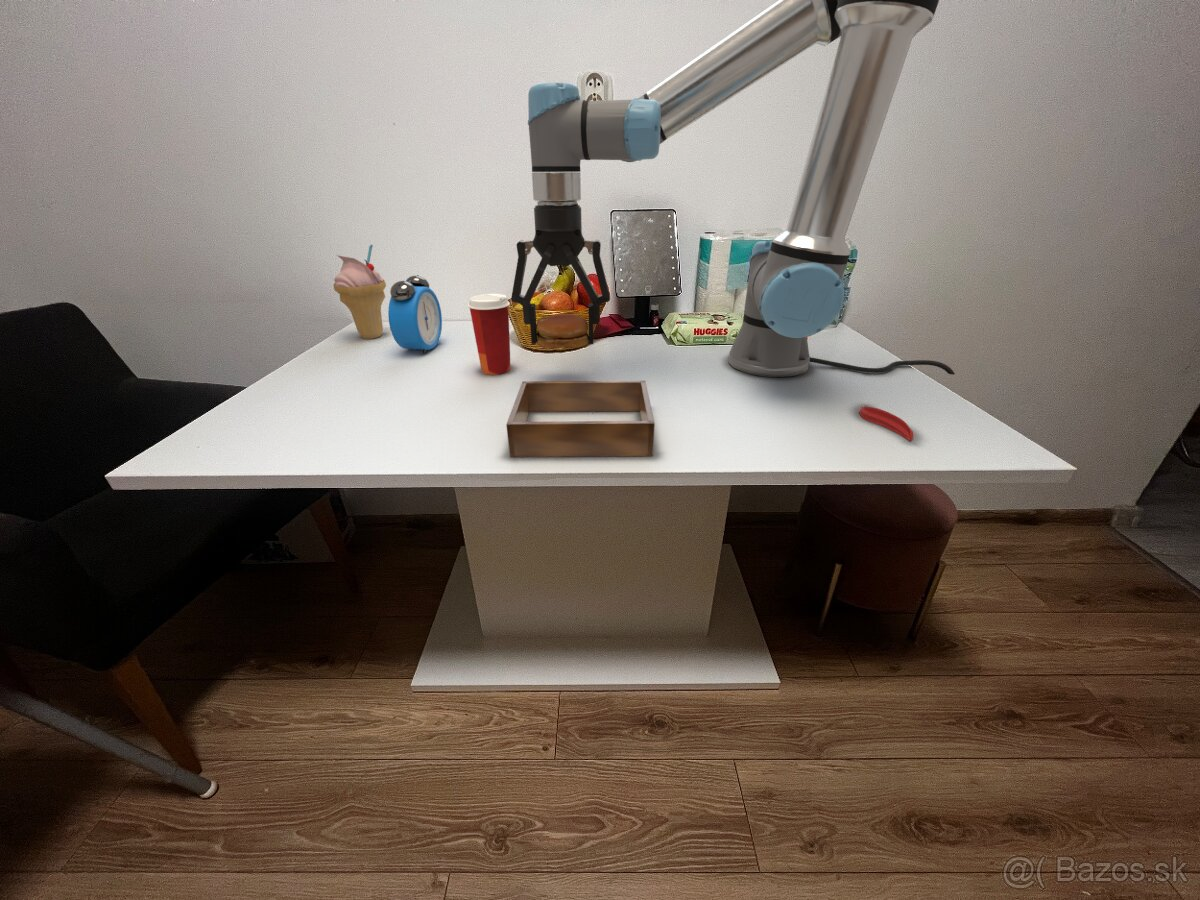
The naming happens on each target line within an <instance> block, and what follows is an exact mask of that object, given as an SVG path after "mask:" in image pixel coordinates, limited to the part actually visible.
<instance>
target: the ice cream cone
mask: <svg viewBox="0 0 1200 900" xmlns="http://www.w3.org/2000/svg"><path fill="white" fill-rule="evenodd" d="M372 251H373V244H370V245H369V246H368V251H367V257H366V259H364V261H365V263H363V262H362V261H361V260H358V259H356V258H354V257H349V256H345V255H344V256H343V255H337V254H336V256H337V257H338V258H339V259H340V260H341V261H342V265H341V268H340V271H339V273H338V274H337V275H336V276H335V277H334V283H333V290H334V291H335V292H336V293H337V294H339V301H340V302H341V303H342V304H343V305H345V306H346V307H347V308H348V310H349V312H350V313H351V316H352V317H351V318H352V319H353V322H354V325H355V327H356V330H357V332H358V334H359V335H360V337H361V338H362V339H365V340H371V339H377V338H379V337H382V334H383V332H384V326H383V317H382V316H383V315H382V304H383V302H384V300H385V298H386V295H385V291H384V290H385V288H386V287H387V283H386V280H385V279H384V278H383V277H382V276H381V274H380V273H379V272H378V270H377V271H376V270H375V266H374V264H372V263H370V261H371V256H372Z"/></svg>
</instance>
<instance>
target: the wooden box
mask: <svg viewBox="0 0 1200 900" xmlns="http://www.w3.org/2000/svg"><path fill="white" fill-rule="evenodd" d="M650 401H651V400H650V396H649V391H648V387H647V382H646V380H545V381H544V380H542V381H541V380H539V381H538V380H536V381H535V380H534V381H532V380H531V381H528V380H527V381H522V382H521V384H520V387H519V389H518V392H517V395H516V398H515V401H514V403H513V406H512V407H511V408H512V409H511V411H510V414H509V417H508V420H507V422H506V433H507V434H506V435H507V442H508V443H507V444H508V452H509V453H508V454H509V457H510V458H525V457H526V458H529V457H530V458H543V457H544V458H548V457H550V458H552V457H554V458H555V457H556V458H558V457H559V458H560V457H561V458H562V457H563V458H564V457H566V458H569V457H654V442H655V441H654V440H655V420H654V415H653V411H652V410H653V409H652V406H651V402H650ZM537 412H538V413H540V412H541V413H544V412H545V413H549V412H550V413H551V412H554V413H555V412H556V413H557V412H559V413H561V412H565V413H566V412H639V414H640V420H578V421H577V420H572V421H571V420H569V421H568V420H567V421H562V420H561V421H557V420H555V421H553V420H552V421H527V420H528V416H529V413H537Z"/></svg>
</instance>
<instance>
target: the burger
mask: <svg viewBox="0 0 1200 900" xmlns="http://www.w3.org/2000/svg"><path fill="white" fill-rule="evenodd" d="M536 327H537V342H536V345H538V346H539V347H541V348H542V349H552V350H553V349H562V350H565V349H566V350H567V349H578V348H582V347H584V346H587V345H588V344H589V333H588V332H589V323H588V321H587V320H586V319H585V318H584V317H583V316H581V315H578V314H573V313H557V314H552V315H548V316H542V317H540V318H538V319H537V321H536Z"/></svg>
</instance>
